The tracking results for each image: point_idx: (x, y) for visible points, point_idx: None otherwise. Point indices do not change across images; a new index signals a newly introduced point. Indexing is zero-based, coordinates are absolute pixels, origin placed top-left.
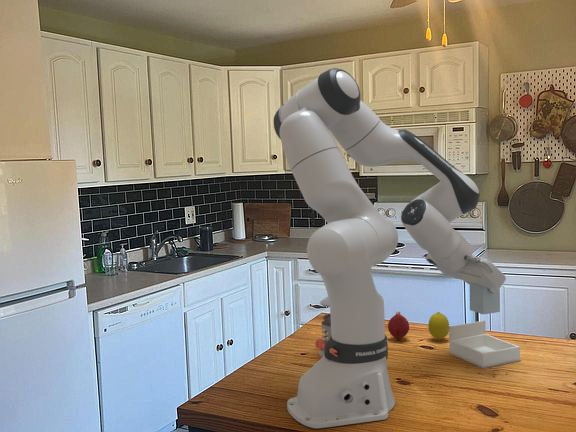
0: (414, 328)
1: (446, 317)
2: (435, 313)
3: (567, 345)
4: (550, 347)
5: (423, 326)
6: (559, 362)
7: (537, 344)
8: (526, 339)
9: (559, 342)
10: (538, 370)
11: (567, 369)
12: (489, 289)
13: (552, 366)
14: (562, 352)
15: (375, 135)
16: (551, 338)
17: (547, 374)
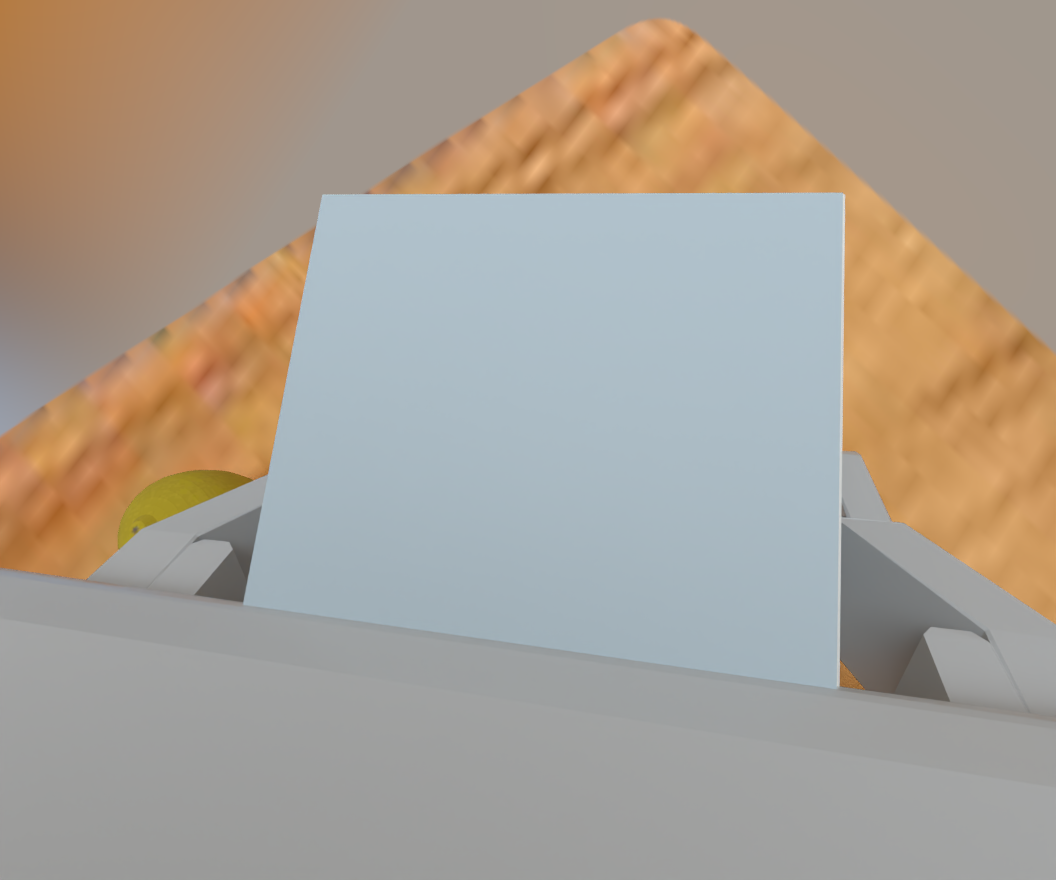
0: (52, 499)
1: (204, 492)
2: (126, 541)
3: (710, 69)
4: (685, 154)
5: (62, 436)
6: (888, 281)
7: (615, 173)
8: (527, 162)
9: (654, 68)
10: (931, 464)
11: (997, 328)
12: (845, 650)
13: (919, 356)
14: (776, 160)
15: None
16: (588, 57)
17: (1008, 473)
